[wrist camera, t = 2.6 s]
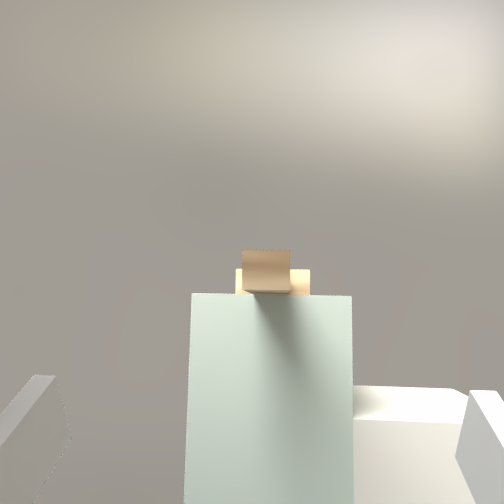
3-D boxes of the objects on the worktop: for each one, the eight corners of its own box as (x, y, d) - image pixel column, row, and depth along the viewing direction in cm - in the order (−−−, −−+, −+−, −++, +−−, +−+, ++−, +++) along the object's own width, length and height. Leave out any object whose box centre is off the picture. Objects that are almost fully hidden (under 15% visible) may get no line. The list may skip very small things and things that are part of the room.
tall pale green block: (555, 834, 23) (521, 299, 27) (172, 790, 25) (191, 293, 29) (463, 655, 35) (448, 301, 39) (208, 634, 37) (218, 297, 41)
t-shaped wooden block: (326, 291, 20) (326, 246, 21) (205, 288, 21) (207, 245, 21) (305, 298, 39) (305, 275, 39) (242, 297, 40) (243, 274, 40)
